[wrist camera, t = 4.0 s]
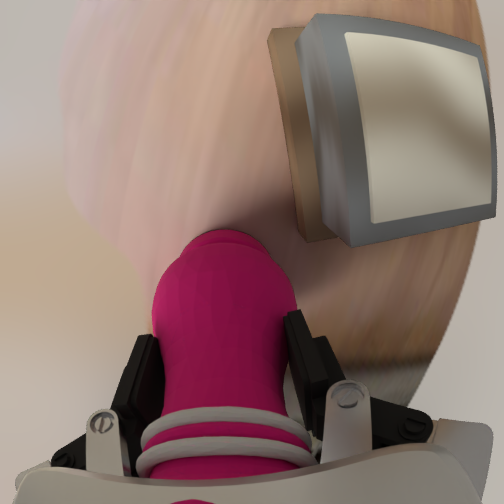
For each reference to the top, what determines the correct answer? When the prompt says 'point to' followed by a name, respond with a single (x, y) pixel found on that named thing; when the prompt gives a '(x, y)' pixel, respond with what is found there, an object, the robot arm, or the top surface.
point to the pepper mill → (223, 366)
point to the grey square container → (384, 128)
